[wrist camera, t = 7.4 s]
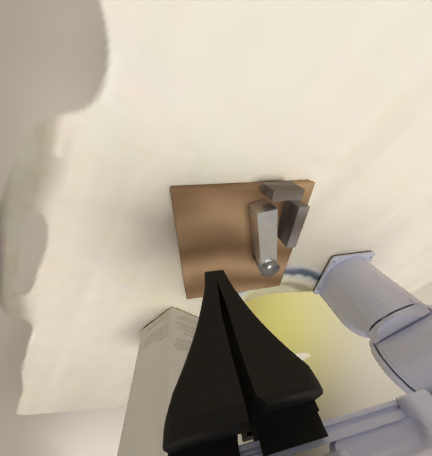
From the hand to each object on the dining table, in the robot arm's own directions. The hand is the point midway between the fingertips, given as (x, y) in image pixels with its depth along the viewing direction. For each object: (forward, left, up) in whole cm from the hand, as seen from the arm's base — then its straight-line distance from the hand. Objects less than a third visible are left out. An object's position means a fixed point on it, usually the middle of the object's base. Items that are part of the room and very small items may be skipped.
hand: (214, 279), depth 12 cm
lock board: (-4, -5, -8) cm, 10 cm away
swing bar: (-2, -7, -7) cm, 10 cm away
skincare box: (-20, +6, -8) cm, 23 cm away
